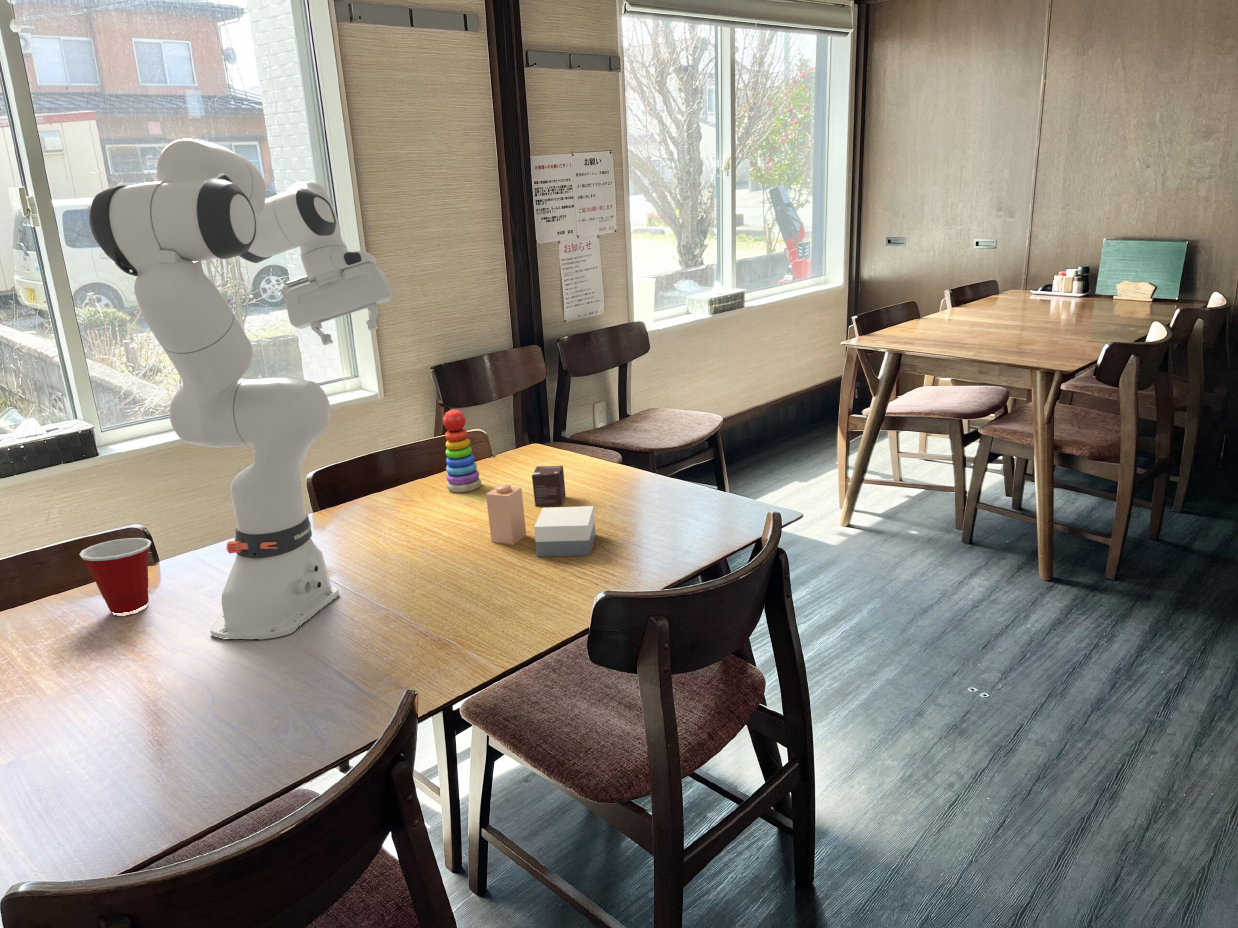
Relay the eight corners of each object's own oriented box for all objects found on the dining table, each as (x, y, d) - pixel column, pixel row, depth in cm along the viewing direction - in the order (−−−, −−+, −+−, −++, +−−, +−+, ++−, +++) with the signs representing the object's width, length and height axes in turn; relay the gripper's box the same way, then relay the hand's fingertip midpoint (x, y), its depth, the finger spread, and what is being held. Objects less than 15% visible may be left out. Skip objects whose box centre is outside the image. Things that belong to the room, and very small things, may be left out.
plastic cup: (179, 597, 160) (164, 534, 156) (132, 625, 150) (116, 560, 146) (129, 593, 163) (114, 532, 159) (81, 621, 153) (63, 556, 149)
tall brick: (513, 544, 173) (507, 492, 170) (491, 541, 175) (485, 490, 172) (526, 535, 178) (521, 483, 174) (504, 532, 180) (499, 481, 176)
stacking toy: (470, 480, 213) (461, 403, 208) (487, 487, 207) (479, 409, 202) (441, 488, 209) (430, 410, 203) (458, 496, 203) (448, 416, 197)
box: (566, 496, 198) (563, 465, 196) (562, 506, 192) (559, 473, 190) (539, 497, 199) (536, 465, 197) (534, 506, 193) (531, 474, 191)
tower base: (590, 555, 166) (587, 525, 164) (537, 556, 167) (534, 526, 165) (595, 534, 176) (593, 506, 174) (545, 536, 176) (542, 507, 175)
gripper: (272, 282, 170) (294, 351, 171) (372, 249, 169) (394, 319, 170) (285, 287, 177) (307, 354, 177) (382, 255, 176) (404, 323, 176)
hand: (350, 336), depth 173 cm, fingers open, 8 cm apart
